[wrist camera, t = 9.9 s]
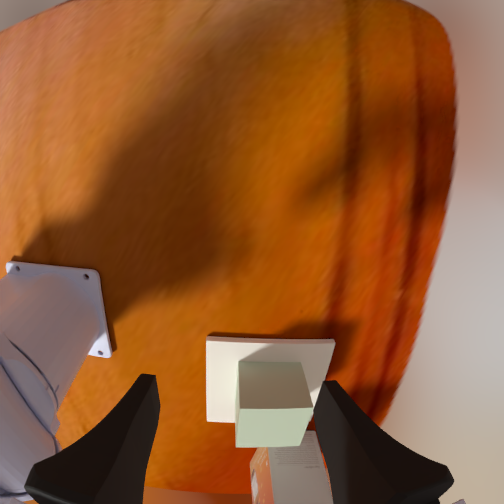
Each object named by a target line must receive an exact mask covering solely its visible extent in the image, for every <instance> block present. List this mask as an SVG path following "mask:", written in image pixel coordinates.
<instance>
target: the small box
mask: <svg viewBox="0 0 504 504" xmlns="http://www.w3.org/2000/svg"><path fill="white" fill-rule="evenodd" d="M250 471H251V488H252V501H253V504H333V499H332V495H331V491H330V487H329V482H328V479H327V475H326V470H325V466H324V462H323V458H322V455H321V451H320V447H319V443H318V439H317V435H316V432H315V431H305V433H304V436H303V439H302V441H301V444H300V446H287V447H258V448H257V450H256V452H255V454H254V456H253V458H252V460H251V462H250Z"/></svg>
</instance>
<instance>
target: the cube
mask: <svg viewBox="0 0 504 504" xmlns="http://www.w3.org/2000/svg"><path fill="white" fill-rule="evenodd" d="M313 408H314V407H313V403H312V400H311V396H310V392H309V389H308V385H307V382H306V378H305V374H304V371H303V367H302V364H301V362H247V361H238V371H237V383H236V395H235V429H236V447H287V446H300V444H301V441H302V439H303V436H304V433H305V431H306V428H307V425H308V422H309V419H310V417H311V414H312V411H313Z"/></svg>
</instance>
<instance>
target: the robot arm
mask: <svg viewBox="0 0 504 504" xmlns="http://www.w3.org/2000/svg"><path fill="white" fill-rule="evenodd" d="M18 267H19V268H18ZM6 269H7V275H6V276H4V277H3V278H2V279H0V504H26V503H24V502H22V501H28V500H33V499H34V500H35V501H36V502H37V503H39V504H142V502H143V491H144V482H145V474H146V469H147V464H148V460H149V456H150V452H151V449H152V445H153V441H154V437H155V434H156V430H157V426H158V420H159V413H160V400H159V394H158V388H157V381H156V375H150V374H141V375H140V376H139V377H138V378H137V380H136V381H135V383H134V384H133V385H132V387H131V388H130V389H129V390H128V392H127V393H126V394H125V395H124V397H123V398H122V399H121V400H120V401H119V403H118V404H117V405H116V406H115V407H114V408H113V409H112V410H111V411H110V412H109V413H108V415H107V416H106V417H105V418H104V419H103V420H102V421H101V422H100V423H98V424H97V425H96V426H95V427H94V428H93V429H92V430H90V431H89V432H88V433H87V434H85V435H84V436H83V437H82V438H80V439H79V440H78V441H76V442H75V443H73V444H72V445H70V446H68V447H67V448H65V449H63V450H62V448H61V446H60V443H59V441H58V440H57V439H56V437H55V434H56V432H57V430H58V428H59V425H60V422H59V421H58V419H57V416H56V413H57V411H58V409H59V407H60V405H61V403H62V401H63V399H64V397H65V395H66V393H67V392H68V390H69V388H70V386H71V384H72V382H73V380H74V378H75V377H76V375H77V373H78V371H79V369H80V368H81V366H82V364H83V362H84V360H85V359H86V357H87V355H93V356H99V357H105V358H110V357H111V355H112V348H111V343H110V338H109V333H108V328H107V322H106V317H105V311H104V304H103V298H102V291H101V283H100V276H99V273H98V272H97V271H96V270H93V269H83V268H73V267H63V266H53V265H43V264H34V263H25V262H16V261H9V262H8V263H7V264H6ZM19 269H20V270H19ZM85 274H87V275H88V276H89V278H87V277H86V275H85ZM101 351H102V352H101ZM313 413H314V420H315V426H316V431H317V435H318V438H319V442H320V445H321V448H322V452H323V455H324V458H325V462H326V465H327V468H328V473H329V477H330V483H331V490H332V497H333V504H440V502H439V499H438V498H439V497H440V496H441V495H443V494H444V493H445V492H446V491H447V490H448V489H449V488H450V487H451V486H452V485H453V483H454V479H453V477H452V475H451V473H450V471H449V469H448V467H447V466H446V465H443V464H440V463H438V462H435V461H432V460H430V459H428V458H426V457H423V456H421V455H419V454H417V453H415V452H414V451H412V450H410V449H409V448H407V447H405V446H404V445H402V444H401V443H399V442H398V441H396V440H395V439H393V438H392V437H391V436H390V435H388V434H387V433H386V432H384V431H383V430H382V429H381V428H380V427H378V426H377V425H376V424H375V423H374V422H373V421H372V420H371V419H370V418H369V417H368V416H367V415H366V414H365V413H364V412H363V411H362V410H361V409H360V408H359V407H358V405H357V404H356V403H355V402H354V401H353V400H352V399H351V398H350V396H349V395H348V394H347V393H346V392H345V390H344V389H343V388H342V387H341V386H340V385H339V383H338V382H337V381H336V380H332V381H323V382H322V385H321V388H320V391H319V394H318V397H317V400H316V403H315V406H314V409H313ZM453 504H466V503H465V501H464V499H461V500H459V501H457V502H455V503H453Z"/></svg>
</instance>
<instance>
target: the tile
mask: <svg viewBox="0 0 504 504" xmlns="http://www.w3.org/2000/svg"><path fill="white" fill-rule="evenodd" d="M335 344H336V343H335V341H334V339H259V338H234V337H215V336H207V339H206V396H207V421H211V422H231V423H235V395H236V383H237V371H238V361H247V362H301V364H302V367H303V371H304V374H305V378H306V382H307V385H308V389H309V392H310V396H311V400H312V403H313V407H314V406H315V403H316V400H317V397H318V394H319V391H320V388H321V385H322V382H323V381H324V380H325V377H326V374H327V371H328V367H329V364H330V361H331V357H332V354H333V351H334V347H335ZM313 409H314V408H313ZM312 416H313V411H312V414H311V417H310V419H309V421H311V419H312Z"/></svg>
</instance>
